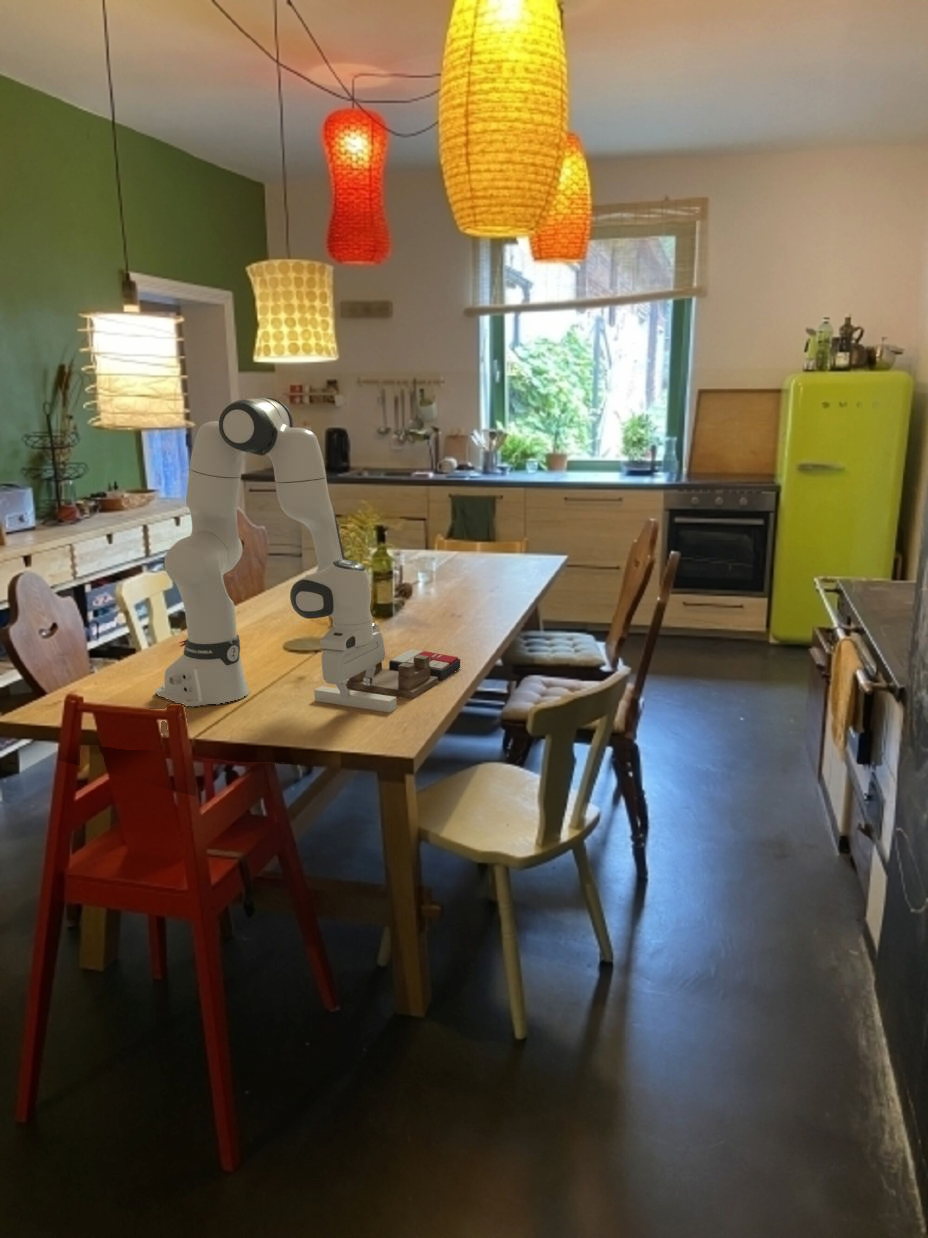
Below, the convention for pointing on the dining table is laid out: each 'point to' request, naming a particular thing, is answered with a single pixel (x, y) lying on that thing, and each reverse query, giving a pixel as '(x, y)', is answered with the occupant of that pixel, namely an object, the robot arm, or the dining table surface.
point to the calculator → (438, 663)
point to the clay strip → (356, 699)
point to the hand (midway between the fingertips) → (357, 690)
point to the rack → (398, 679)
